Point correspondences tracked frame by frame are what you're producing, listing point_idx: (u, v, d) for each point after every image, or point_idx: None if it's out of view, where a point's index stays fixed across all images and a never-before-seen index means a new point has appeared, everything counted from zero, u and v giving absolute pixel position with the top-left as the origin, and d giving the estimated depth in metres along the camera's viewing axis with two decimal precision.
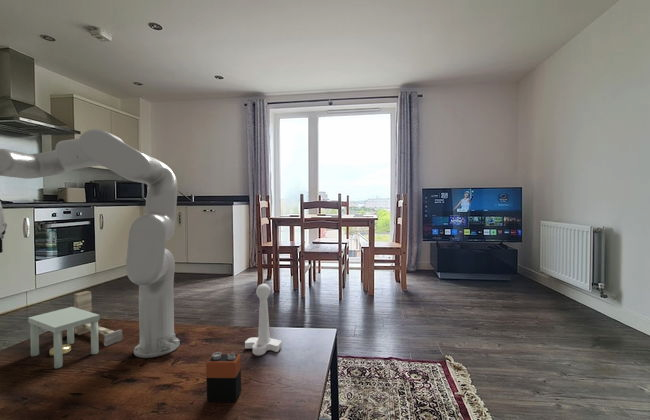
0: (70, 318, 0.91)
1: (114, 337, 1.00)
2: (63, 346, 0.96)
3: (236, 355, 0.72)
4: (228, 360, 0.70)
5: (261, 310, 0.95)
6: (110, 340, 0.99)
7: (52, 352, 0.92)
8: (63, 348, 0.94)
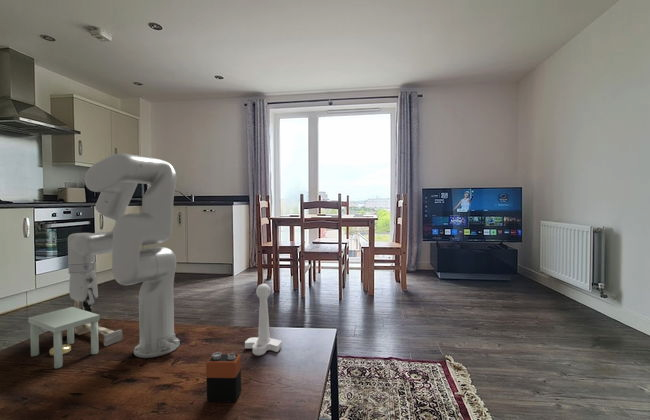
0: (70, 318, 0.91)
1: (114, 336, 1.00)
2: (63, 346, 0.96)
3: (236, 355, 0.72)
4: (228, 360, 0.70)
5: (261, 310, 0.95)
6: (110, 340, 0.99)
7: (53, 351, 0.92)
8: (63, 348, 0.94)
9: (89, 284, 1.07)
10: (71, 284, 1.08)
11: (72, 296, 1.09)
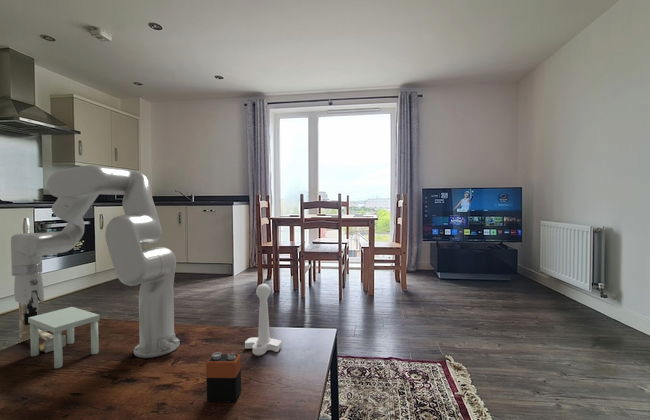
0: (70, 318, 0.91)
1: None
2: None
3: (236, 355, 0.72)
4: (228, 360, 0.70)
5: (261, 310, 0.95)
6: (51, 346, 0.95)
7: (42, 346, 0.95)
8: None
9: (33, 286, 1.03)
10: (15, 286, 1.04)
11: (16, 299, 1.04)
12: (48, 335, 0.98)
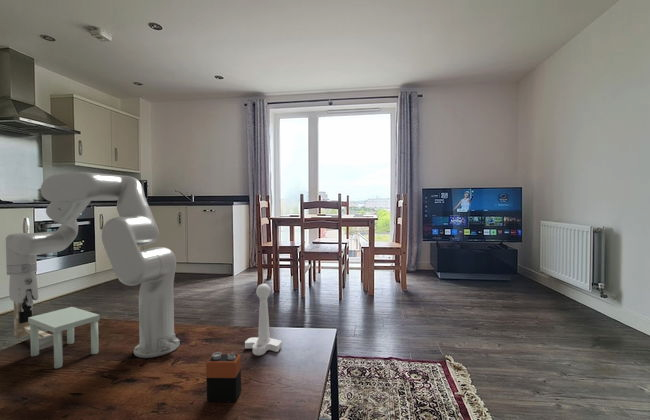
0: (70, 318, 0.91)
1: (50, 340, 0.98)
2: None
3: (236, 355, 0.72)
4: (228, 360, 0.70)
5: (261, 310, 0.95)
6: (45, 344, 0.97)
7: None
8: None
9: (28, 285, 1.05)
10: (10, 285, 1.06)
11: (11, 298, 1.06)
12: (42, 333, 1.01)
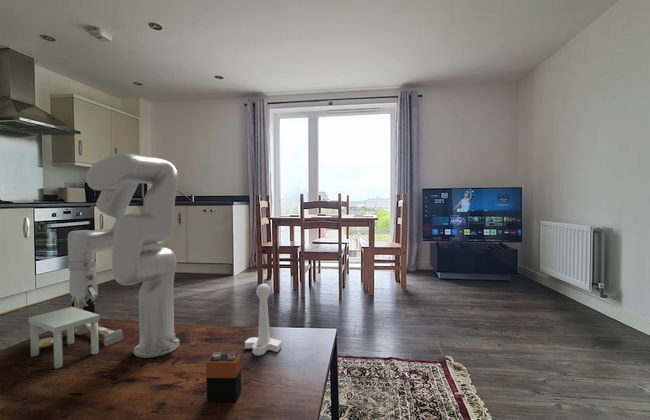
0: (70, 318, 0.91)
1: (114, 336, 1.01)
2: (47, 339, 1.01)
3: (236, 355, 0.72)
4: (228, 360, 0.70)
5: (261, 310, 0.95)
6: (110, 340, 0.99)
7: None
8: (47, 341, 1.00)
9: (89, 281, 1.07)
10: (71, 281, 1.08)
11: (72, 293, 1.09)
12: (105, 330, 1.03)
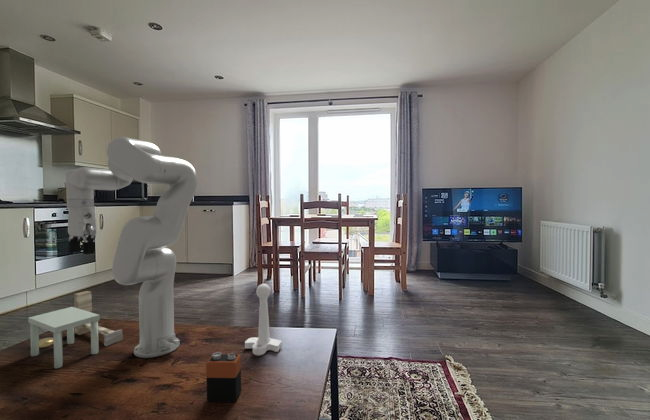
0: (70, 318, 0.91)
1: (114, 336, 1.01)
2: (47, 339, 1.01)
3: (236, 355, 0.72)
4: (228, 360, 0.70)
5: (261, 310, 0.95)
6: (110, 340, 0.99)
7: None
8: (47, 341, 1.00)
9: (88, 219, 1.07)
10: (69, 220, 1.08)
11: (70, 232, 1.08)
12: (105, 330, 1.03)
